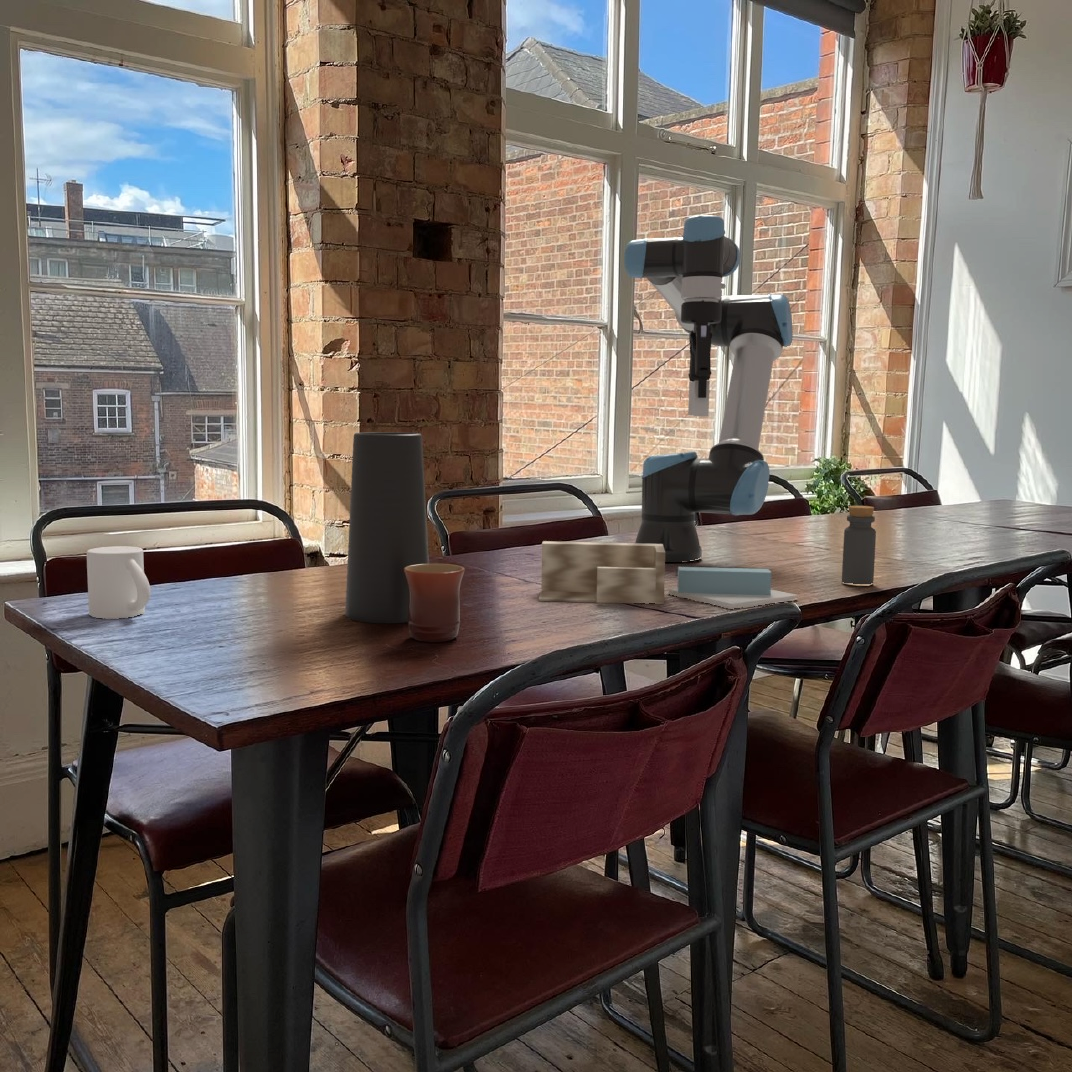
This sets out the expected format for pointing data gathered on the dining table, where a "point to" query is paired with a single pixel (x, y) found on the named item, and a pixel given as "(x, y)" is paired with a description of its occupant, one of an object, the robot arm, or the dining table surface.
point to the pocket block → (603, 572)
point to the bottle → (859, 546)
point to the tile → (735, 598)
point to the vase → (385, 525)
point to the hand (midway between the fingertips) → (698, 416)
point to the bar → (724, 580)
